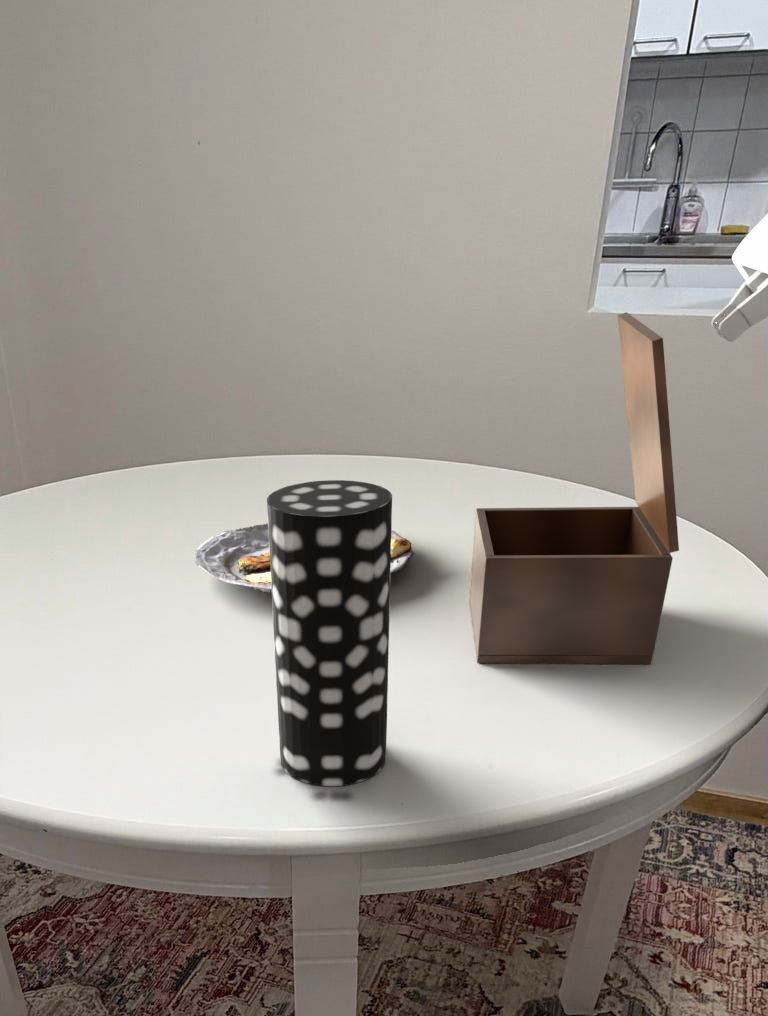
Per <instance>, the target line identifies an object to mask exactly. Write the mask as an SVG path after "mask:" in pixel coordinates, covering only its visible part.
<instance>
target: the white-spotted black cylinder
mask: <svg viewBox="0 0 768 1016" xmlns="http://www.w3.org/2000/svg"><path fill="white" fill-rule="evenodd" d="M266 507H267V508H266V512H267V524H268V531H269V550H270V569H271V588H272V590H271V606H272V624H273V641H274V643H273V645H274V646H273V647H274V663H275V680H276V681H275V682H276V683H275V684H276V701H277V703H276V704H277V720H278V739H279V758H280V759H279V760H280V765H281V768H282V769H283V771H285V772H286V774H287V775H289V776H290V777H292V778H293V779H296V780H297V781H300V782H302V783H307V784H309V785H314V786H322V787H326V786H327V787H339V786H348V785H354V784H357V783H361V782H364V781H366V780H368V779H370V778H372V777H374V776H375V775H377V774H378V773H379V772H380V771H381V770H382V769H383V768H384V767H385V764H386V762H387V739H388V738H387V734H388V693H389V692H388V691H389V654H390V653H389V651H390V650H389V649H390V648H389V647H390V646H389V645H390V613H391V612H390V609H391V608H390V607H391V573H390V570H391V530H392V526H393V525H392V524H393V523H392V522H393V494H392V492H391V491H390V490H388V489H387V488H385V487H383V486H380V485H377V484H375V483H371V482H365V481H359V480H346V479H345V480H341V479H333V480H331V479H328V480H315V481H306V482H301V483H295V484H291V485H287V486H285V487H282V488H279V489H276V490H275V491H272V492H271V493H270V494H269V495H268V496H267V498H266Z"/></svg>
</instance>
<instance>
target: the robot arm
mask: <svg viewBox="0 0 768 1016" xmlns="http://www.w3.org/2000/svg"><path fill="white" fill-rule="evenodd" d="M731 261H732V263H733V265H734V266H735V268H736V269H737V270H738V272H739V274H740V275H741V276H742V278H743V279H744V280H745V281H744V282H743V283H742V284H741V285H740V287H739V288H738V289H737V291H736V292H735V294H734V295H733V296H732V297H731V299H730V301H729V302H728V304H726V305H725V307H723V308H722V309H721V310H720V311H719V312H718V313H717V314H716V315H714V316H713V318H712V319H711V321H710V324H711V327H712V328H713V329H714V331H715V332H716V334H717V336H718V337H721V338H722V339H725V340H726V341H728V342H735V341H736V340H738V339H739V338H740V337H741V336H742V335H743V334H744V333H746V332H747V331H748V330H749V329H750V328H751V327H753V326H755V325H756V324H758V323H760V322H762V321H764V320H765V319H767V318H768V213H766V214H765V216H763V218H762V219H760V221H759V222H757V224H756V225H755V226H754V227H753V228H752V229H751V230H750V231H749V232H748V233H747V235H746V236H745V237H744V238H743V239H742V240H741V242H740V243H739V245H738V246H737V247H736V249H735V251H734V252H733V254H732V256H731Z"/></svg>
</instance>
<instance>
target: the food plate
mask: <svg viewBox="0 0 768 1016" xmlns="http://www.w3.org/2000/svg"><path fill="white" fill-rule="evenodd" d="M412 548H413V547H412V542H411V541H410V540H409V539H407V538H404V537H402V536H401V535H400V534H399V533H397V532H396V531H395V530H392V529H391V570H390V574H393V573H396V572H400V571H401V570H403V569H404V568H405V567H407V566H408V564H409V562H410V561H411V559H412V558H413V557H414V556H415V553H414V551H413V549H412ZM192 555H193V559H194V562H195V563H196V565H197V566H198V567H199V568H200V569H201V570H203V571H205V573H206V574H208V575H209V576H212V577H213V578H215V579H217V580H218V581H220V582H223V583H227V584H230V585H236V586H237V585H240V586H244V587H249V588H250V587H251V588H253V589H254V590H255V591H256V590H260V591H261V592H263V593H272V588H271V569H270V550H269V531H268V523H263V524H255V525H250V526H246V527H241V528H237V529H236V528H235V529H231V530H226V531H224V532H222V533H218V534H216V535H213V536H211V537H210V538H208V539H207V540H204V541H203V543H202V544H201V545H199V546H198V547H197V548H196V549H195V551H194V552H193V554H192Z"/></svg>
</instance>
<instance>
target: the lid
mask: <svg viewBox="0 0 768 1016" xmlns="http://www.w3.org/2000/svg"><path fill="white" fill-rule="evenodd" d="M617 324H618V325H617V326H618V334H619V335H618V336H619V344H620V345H619V346H620V355H621V366H622V374H623V385H624V395H625V405H626V416H627V425H628V426H627V427H628V435H629V436H628V437H629V447H630V456H631V467H632V477H633V478H632V479H633V487H634V497H635V503H636V505H637V507H639V508H640V509H641V511H642V512H643V514H644V515H645V517H646V518H647V520H648V521H649V523H650V524H651V526H652V528H653V529H654V531H655V532H656V534H657V535H658V537H659V538H660V540H661V541H662V543H663V544H664V546H665V547H666V549H667V550H668V552H669V553H670V554H671V553H675V552H679V551H680V545H679V531H678V518H677V505H676V492H675V479H674V478H675V477H674V467H673V453H672V452H673V451H672V439H671V427H670V425H671V424H670V414H669V413H670V412H669V400H668V387H667V385H668V384H667V375H666V372H667V371H666V362H665V349H664V347H665V346H664V338H663V337H662V336H661V335H659V334H658V333H657V332H655V331H654V330H652V329H651V328H650V327H648V326H647V325H645V324H644V323H642V322H641V321H639V320H638V319H637V318H635V317H634V316H632V315H631V314H629V313H628V311H627V312H622V313H620V314H617Z"/></svg>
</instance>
